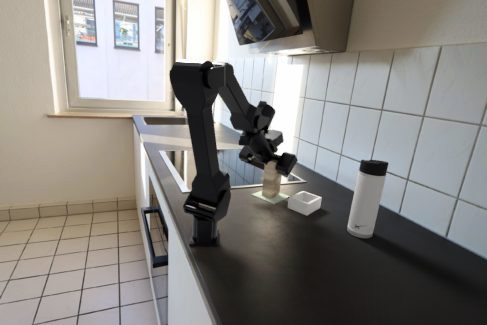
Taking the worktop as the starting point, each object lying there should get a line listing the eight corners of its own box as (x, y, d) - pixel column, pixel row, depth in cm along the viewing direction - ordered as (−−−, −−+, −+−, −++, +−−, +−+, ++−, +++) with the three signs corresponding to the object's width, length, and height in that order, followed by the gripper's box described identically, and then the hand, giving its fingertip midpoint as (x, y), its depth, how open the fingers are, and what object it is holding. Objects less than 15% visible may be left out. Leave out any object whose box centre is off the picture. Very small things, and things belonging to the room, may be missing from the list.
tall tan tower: (270, 198, 91) (274, 161, 88) (261, 195, 93) (265, 158, 90) (279, 195, 95) (283, 158, 91) (270, 191, 97) (274, 156, 94)
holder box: (306, 215, 82) (308, 204, 81) (287, 207, 86) (288, 197, 85) (320, 207, 88) (321, 197, 87) (301, 200, 92) (302, 190, 91)
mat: (273, 204, 88) (273, 203, 88) (251, 195, 94) (251, 194, 94) (289, 197, 95) (289, 196, 95) (267, 188, 100) (267, 188, 100)
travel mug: (357, 240, 71) (374, 163, 66) (342, 227, 77) (356, 155, 72) (378, 238, 73) (396, 163, 67) (361, 225, 79) (376, 155, 73)
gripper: (298, 127, 79) (312, 159, 90) (247, 117, 90) (265, 147, 101) (278, 159, 75) (295, 189, 86) (228, 144, 87) (248, 172, 98)
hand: (275, 172), depth 93 cm, fingers open, 9 cm apart
